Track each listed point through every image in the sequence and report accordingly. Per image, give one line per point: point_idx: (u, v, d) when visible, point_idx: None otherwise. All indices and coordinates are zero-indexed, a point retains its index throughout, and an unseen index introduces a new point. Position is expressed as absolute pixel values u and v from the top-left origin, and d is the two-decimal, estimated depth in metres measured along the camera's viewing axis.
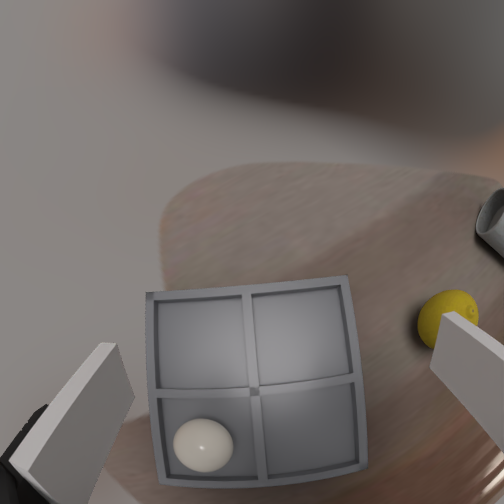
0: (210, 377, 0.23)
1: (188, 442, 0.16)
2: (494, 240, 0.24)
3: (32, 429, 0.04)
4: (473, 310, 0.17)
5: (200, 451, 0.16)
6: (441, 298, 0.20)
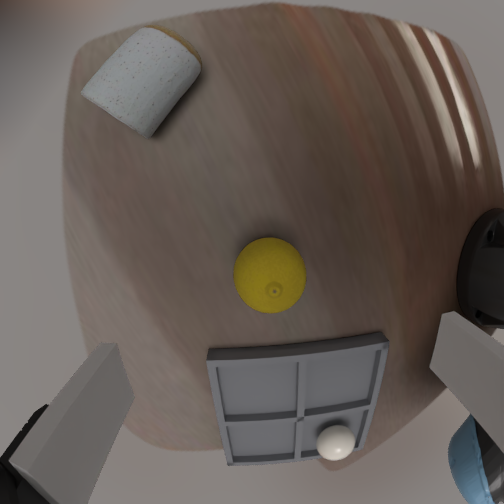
0: (286, 432, 0.29)
1: (332, 459, 0.25)
2: (159, 122, 0.20)
3: (32, 429, 0.04)
4: (274, 290, 0.18)
5: (339, 455, 0.25)
6: (246, 303, 0.20)
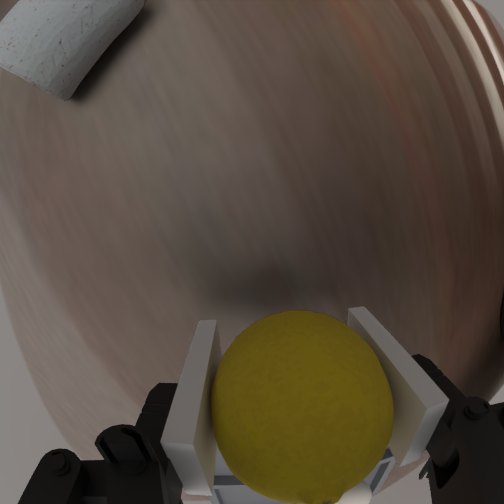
0: None
1: None
2: (76, 73, 0.10)
3: (174, 404, 0.06)
4: (325, 502, 0.04)
5: None
6: None
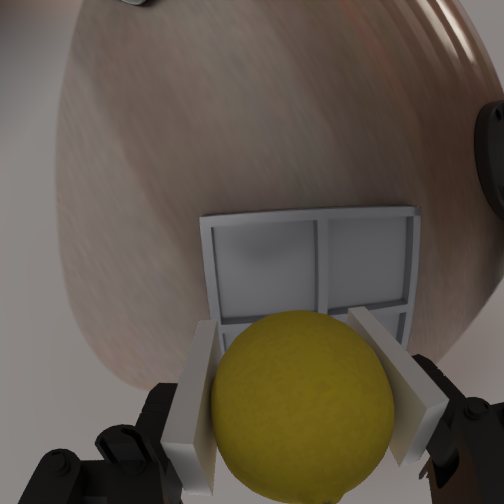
0: None
1: None
2: None
3: (174, 404, 0.06)
4: (326, 503, 0.04)
5: None
6: None
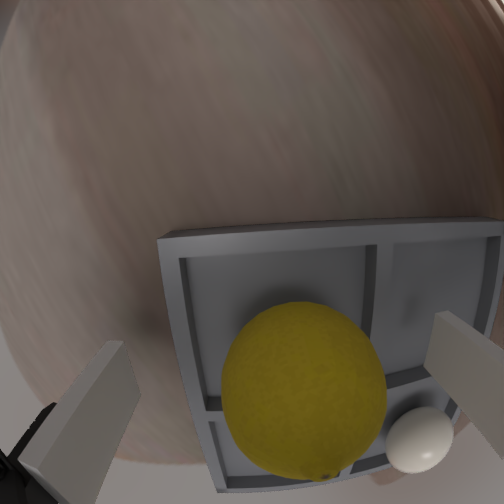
0: None
1: (418, 471, 0.10)
2: None
3: (41, 427, 0.04)
4: (325, 475, 0.05)
5: (433, 462, 0.10)
6: None
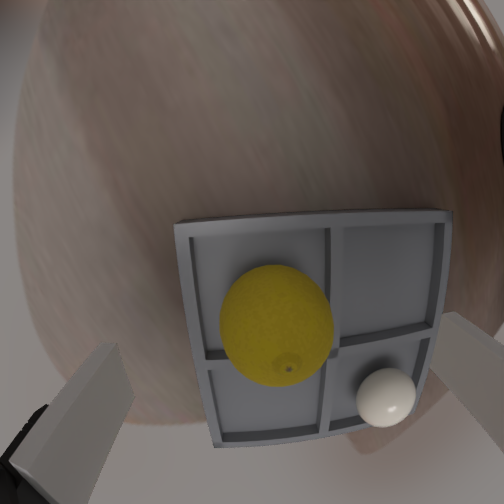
0: (307, 387, 0.19)
1: (385, 423, 0.15)
2: None
3: (32, 429, 0.04)
4: (288, 368, 0.10)
5: (397, 415, 0.15)
6: None
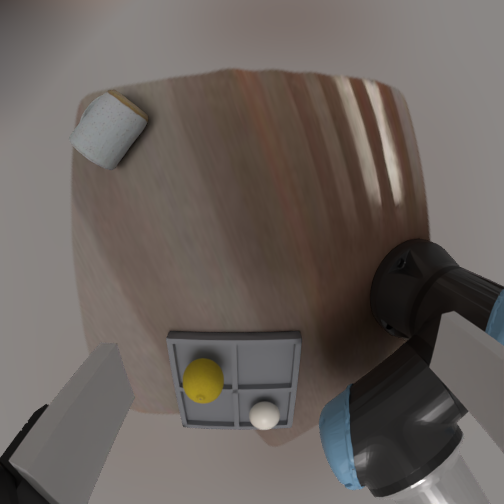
0: (227, 403, 0.40)
1: (259, 427, 0.36)
2: (119, 160, 0.30)
3: (32, 429, 0.04)
4: (200, 398, 0.31)
5: (264, 425, 0.36)
6: None
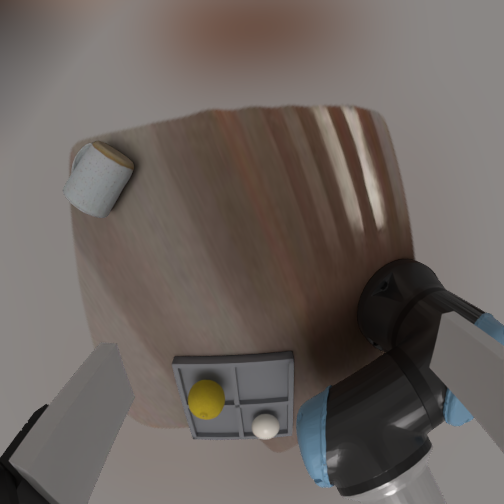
0: (231, 416, 0.43)
1: (261, 437, 0.39)
2: (111, 207, 0.33)
3: (32, 429, 0.04)
4: (203, 416, 0.34)
5: (265, 435, 0.39)
6: None
